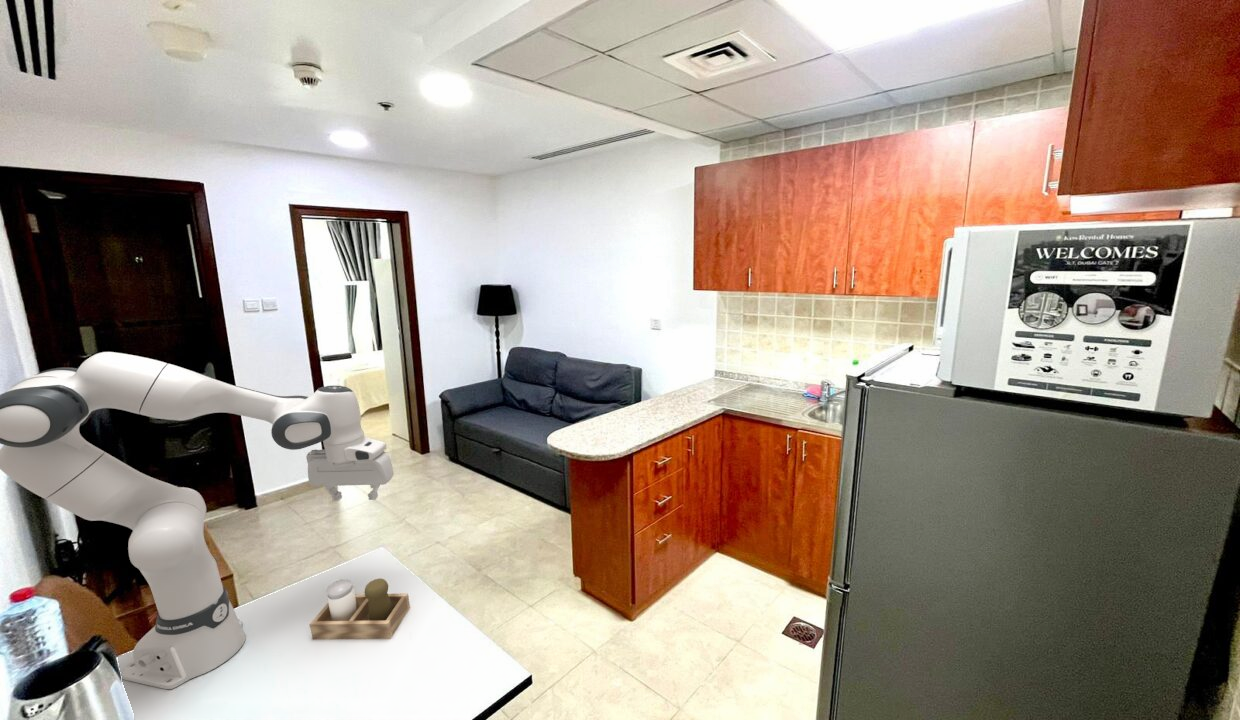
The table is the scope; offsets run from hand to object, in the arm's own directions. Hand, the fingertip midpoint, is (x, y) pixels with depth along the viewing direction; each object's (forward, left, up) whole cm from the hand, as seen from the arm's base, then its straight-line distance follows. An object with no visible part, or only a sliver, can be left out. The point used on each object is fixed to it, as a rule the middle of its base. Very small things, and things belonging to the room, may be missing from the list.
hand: (355, 499), depth 120 cm
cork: (+8, -9, -28) cm, 31 cm away
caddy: (+3, -10, -29) cm, 31 cm away
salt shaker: (-1, -10, -28) cm, 30 cm away
